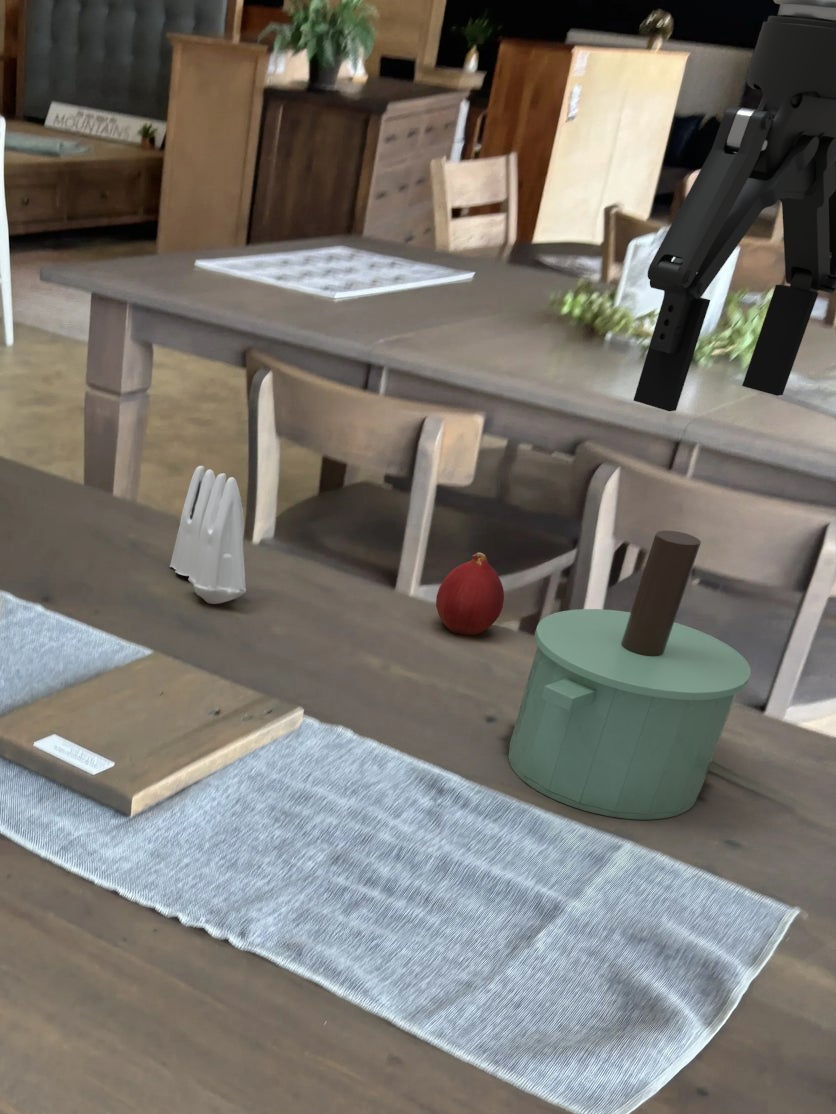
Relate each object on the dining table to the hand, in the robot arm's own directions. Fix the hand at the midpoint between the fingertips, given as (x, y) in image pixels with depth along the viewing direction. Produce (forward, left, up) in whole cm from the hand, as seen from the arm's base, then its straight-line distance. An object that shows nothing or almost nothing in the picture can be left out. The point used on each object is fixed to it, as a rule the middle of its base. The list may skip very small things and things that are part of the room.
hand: (710, 398), depth 94 cm
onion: (+21, -10, -27) cm, 35 cm away
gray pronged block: (+41, +3, -27) cm, 49 cm away
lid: (-2, +2, -17) cm, 17 cm away
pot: (-2, +2, -27) cm, 27 cm away
